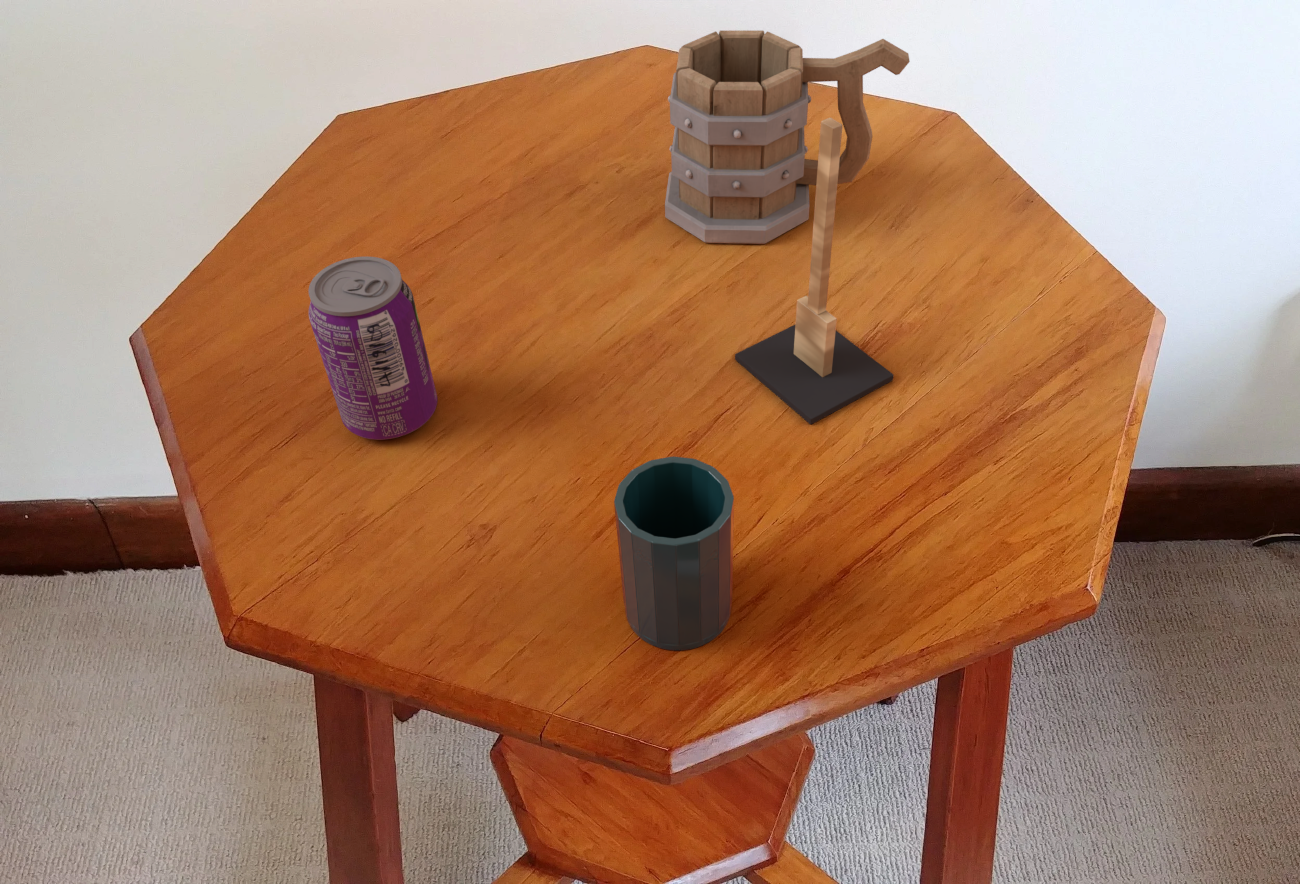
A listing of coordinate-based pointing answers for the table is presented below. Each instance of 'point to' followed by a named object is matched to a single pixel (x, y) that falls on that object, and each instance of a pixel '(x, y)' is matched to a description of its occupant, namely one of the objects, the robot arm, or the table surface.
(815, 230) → the wooden stir stick
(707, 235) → the tankard
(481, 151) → the table surface
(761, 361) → the mat
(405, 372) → the beverage can
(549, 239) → the table surface
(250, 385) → the table surface
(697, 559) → the cup
